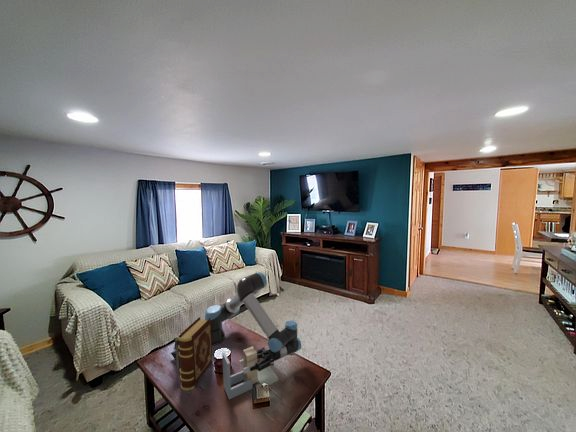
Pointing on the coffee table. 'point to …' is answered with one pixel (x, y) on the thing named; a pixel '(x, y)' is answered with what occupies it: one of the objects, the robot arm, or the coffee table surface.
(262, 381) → the sage tile
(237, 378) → the slot rack
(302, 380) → the coffee table surface
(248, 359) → the block
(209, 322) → the decorative book
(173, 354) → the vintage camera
